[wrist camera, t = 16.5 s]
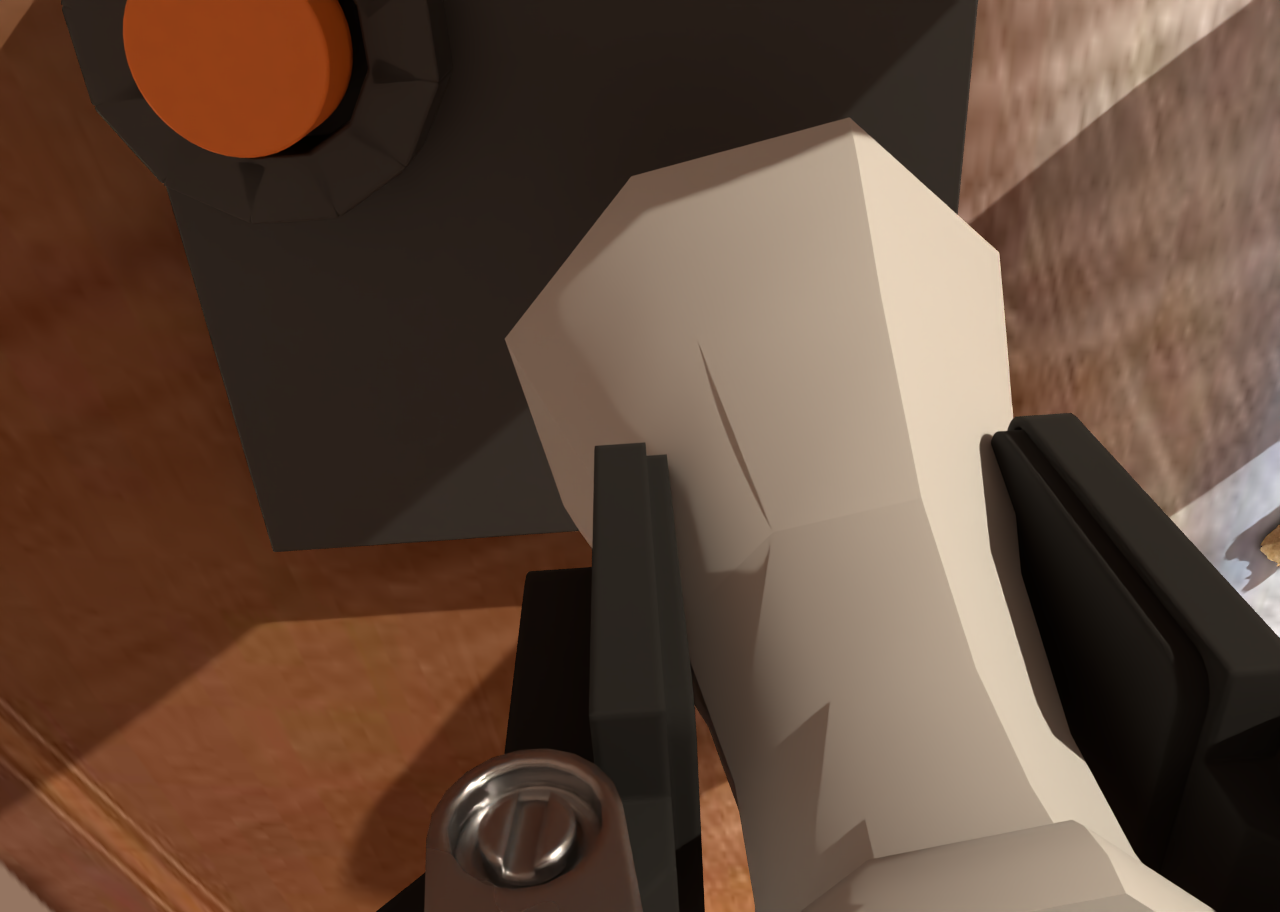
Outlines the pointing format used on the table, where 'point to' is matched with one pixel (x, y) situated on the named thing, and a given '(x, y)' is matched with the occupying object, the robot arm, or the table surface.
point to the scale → (484, 219)
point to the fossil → (1272, 545)
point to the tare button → (239, 68)
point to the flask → (835, 524)
